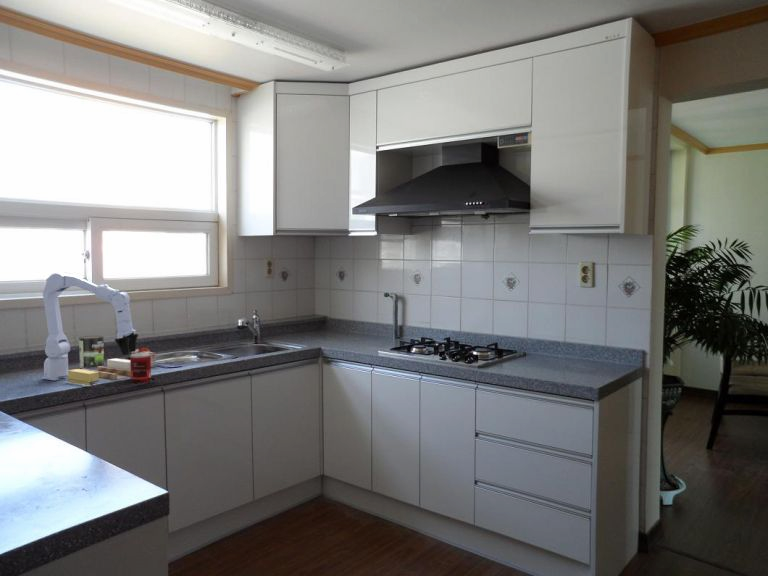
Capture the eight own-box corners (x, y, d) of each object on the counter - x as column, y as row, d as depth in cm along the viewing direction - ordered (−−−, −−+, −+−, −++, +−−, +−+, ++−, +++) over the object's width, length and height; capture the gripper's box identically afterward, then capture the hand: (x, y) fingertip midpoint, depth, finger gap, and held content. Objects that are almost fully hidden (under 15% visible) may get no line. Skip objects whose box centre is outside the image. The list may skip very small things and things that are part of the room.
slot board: (81, 377, 252) (81, 369, 252) (114, 371, 266) (114, 363, 265) (114, 383, 241) (114, 374, 241) (147, 376, 254) (147, 368, 254)
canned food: (144, 378, 250) (144, 352, 250) (154, 380, 245) (154, 354, 245) (127, 381, 244) (126, 354, 244) (137, 384, 239) (136, 356, 239)
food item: (158, 370, 269) (157, 348, 269) (140, 372, 264) (140, 350, 263) (145, 366, 279) (144, 345, 278) (128, 368, 273) (127, 346, 273)
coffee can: (109, 366, 279) (108, 335, 278) (91, 369, 269) (90, 338, 268) (92, 364, 282) (91, 334, 282) (74, 368, 273) (73, 337, 272)
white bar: (107, 371, 258) (107, 359, 258) (115, 369, 262) (115, 358, 261) (128, 374, 251) (128, 362, 251) (136, 372, 255) (136, 361, 254)
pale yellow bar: (68, 382, 243) (68, 370, 243) (77, 380, 247) (77, 368, 246) (89, 386, 236) (89, 373, 236) (98, 384, 239) (98, 372, 239)
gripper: (127, 321, 243) (132, 354, 244) (139, 317, 257) (144, 349, 258) (109, 324, 243) (115, 356, 243) (123, 320, 257) (128, 351, 258)
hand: (129, 353), depth 251 cm, fingers open, 7 cm apart
